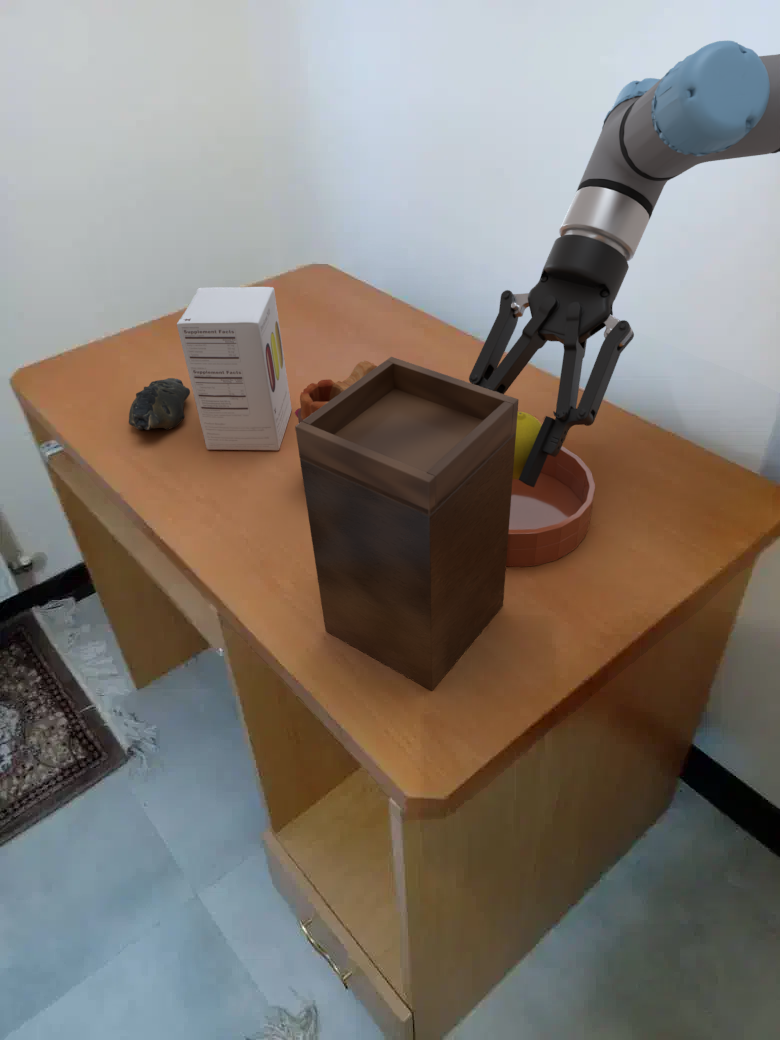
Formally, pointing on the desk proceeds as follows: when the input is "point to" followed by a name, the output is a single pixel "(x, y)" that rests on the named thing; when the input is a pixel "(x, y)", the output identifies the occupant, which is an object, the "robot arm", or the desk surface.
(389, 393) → the tray
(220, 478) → the desk surface
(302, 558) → the desk surface
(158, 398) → the stone
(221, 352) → the supplement box
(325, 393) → the mug
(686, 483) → the desk surface
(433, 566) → the stand
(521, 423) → the lemon
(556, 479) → the bowl
